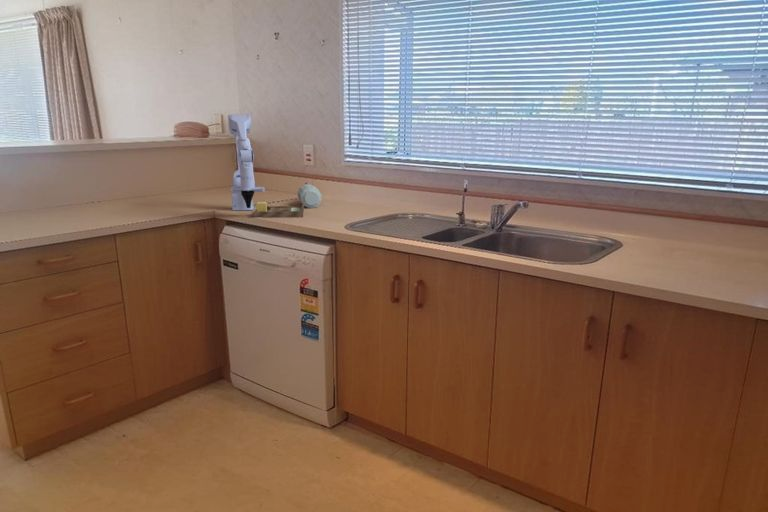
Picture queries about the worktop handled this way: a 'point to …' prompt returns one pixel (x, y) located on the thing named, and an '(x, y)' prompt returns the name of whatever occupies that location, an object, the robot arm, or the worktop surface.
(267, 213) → the tray
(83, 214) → the worktop surface
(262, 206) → the block
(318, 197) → the device
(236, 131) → the robot arm
